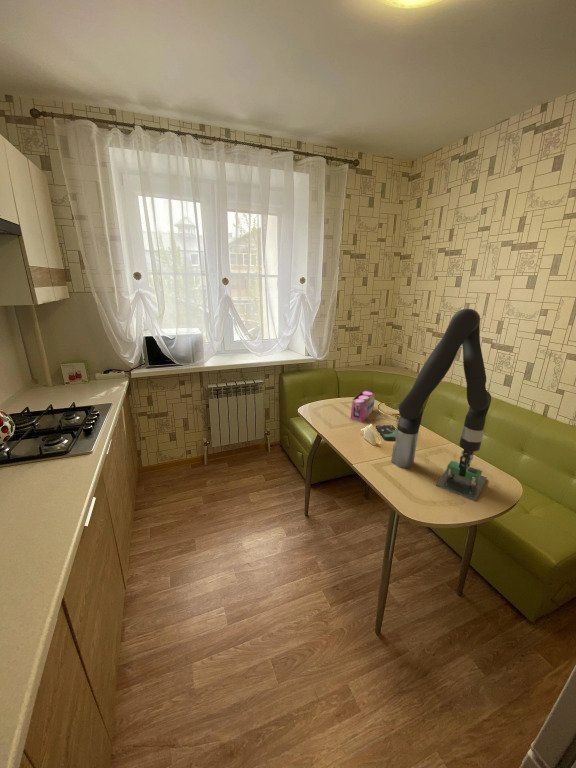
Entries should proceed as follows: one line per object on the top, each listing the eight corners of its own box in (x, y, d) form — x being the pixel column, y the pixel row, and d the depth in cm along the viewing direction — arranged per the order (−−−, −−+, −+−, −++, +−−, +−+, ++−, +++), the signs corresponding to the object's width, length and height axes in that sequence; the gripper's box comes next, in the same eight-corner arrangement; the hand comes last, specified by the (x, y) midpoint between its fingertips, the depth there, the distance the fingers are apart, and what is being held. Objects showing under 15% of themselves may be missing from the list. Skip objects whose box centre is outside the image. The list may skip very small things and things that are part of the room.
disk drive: (375, 429, 186) (384, 441, 171) (375, 425, 185) (384, 436, 171) (392, 429, 186) (402, 440, 172) (392, 424, 185) (403, 436, 171)
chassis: (435, 485, 134) (438, 472, 132) (450, 466, 148) (452, 454, 146) (475, 501, 124) (478, 487, 122) (486, 479, 138) (489, 466, 136)
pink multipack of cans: (361, 423, 192) (363, 402, 188) (349, 420, 196) (350, 399, 192) (373, 410, 212) (375, 391, 207) (362, 408, 215) (364, 389, 211)
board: (446, 471, 137) (447, 464, 136) (450, 466, 141) (451, 459, 139) (477, 482, 129) (479, 475, 128) (480, 477, 133) (482, 470, 132)
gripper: (466, 428, 137) (458, 462, 142) (456, 440, 127) (449, 476, 132) (485, 434, 132) (477, 469, 137) (477, 446, 122) (469, 483, 127)
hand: (463, 472), depth 134 cm, fingers closed on board, 5 cm apart
